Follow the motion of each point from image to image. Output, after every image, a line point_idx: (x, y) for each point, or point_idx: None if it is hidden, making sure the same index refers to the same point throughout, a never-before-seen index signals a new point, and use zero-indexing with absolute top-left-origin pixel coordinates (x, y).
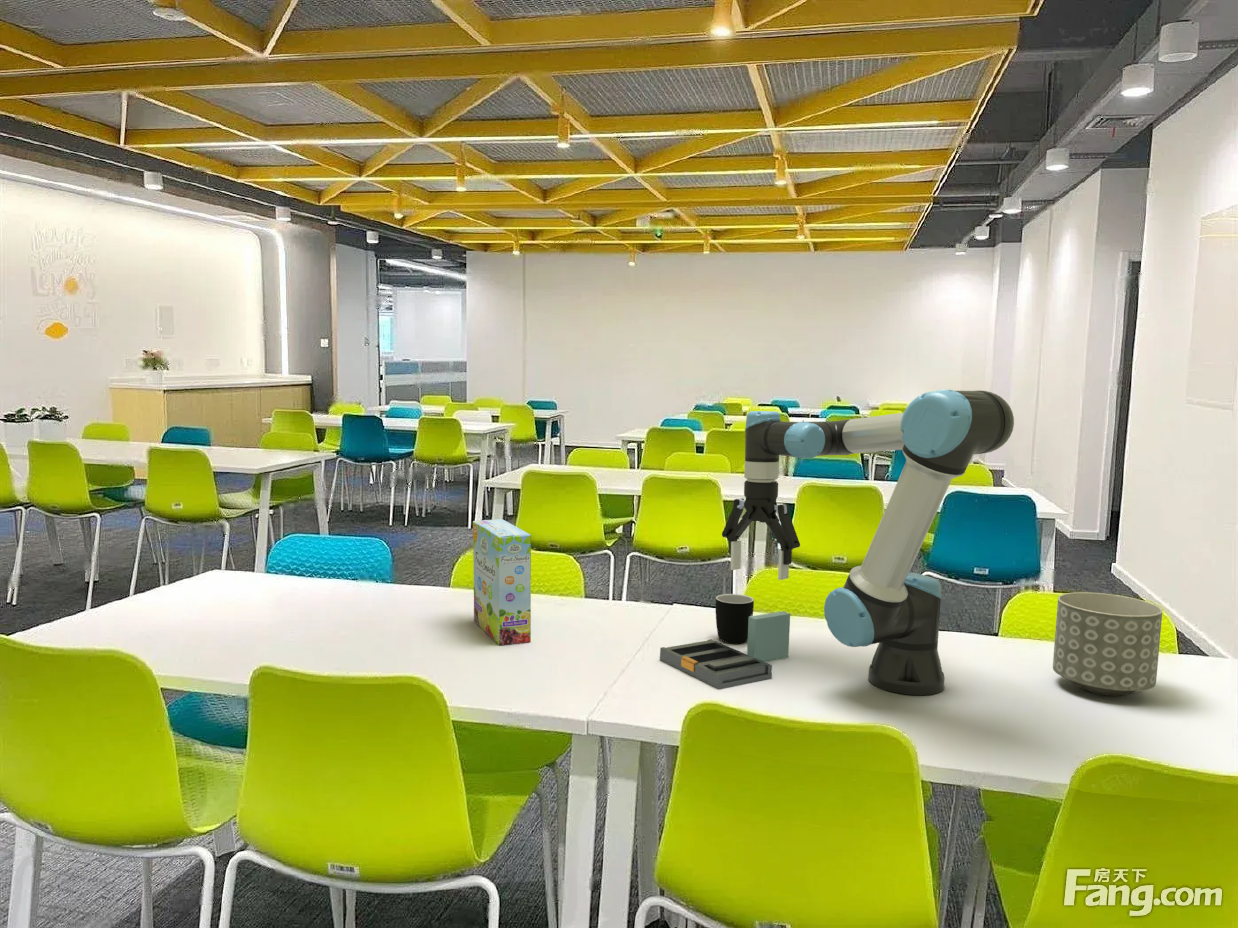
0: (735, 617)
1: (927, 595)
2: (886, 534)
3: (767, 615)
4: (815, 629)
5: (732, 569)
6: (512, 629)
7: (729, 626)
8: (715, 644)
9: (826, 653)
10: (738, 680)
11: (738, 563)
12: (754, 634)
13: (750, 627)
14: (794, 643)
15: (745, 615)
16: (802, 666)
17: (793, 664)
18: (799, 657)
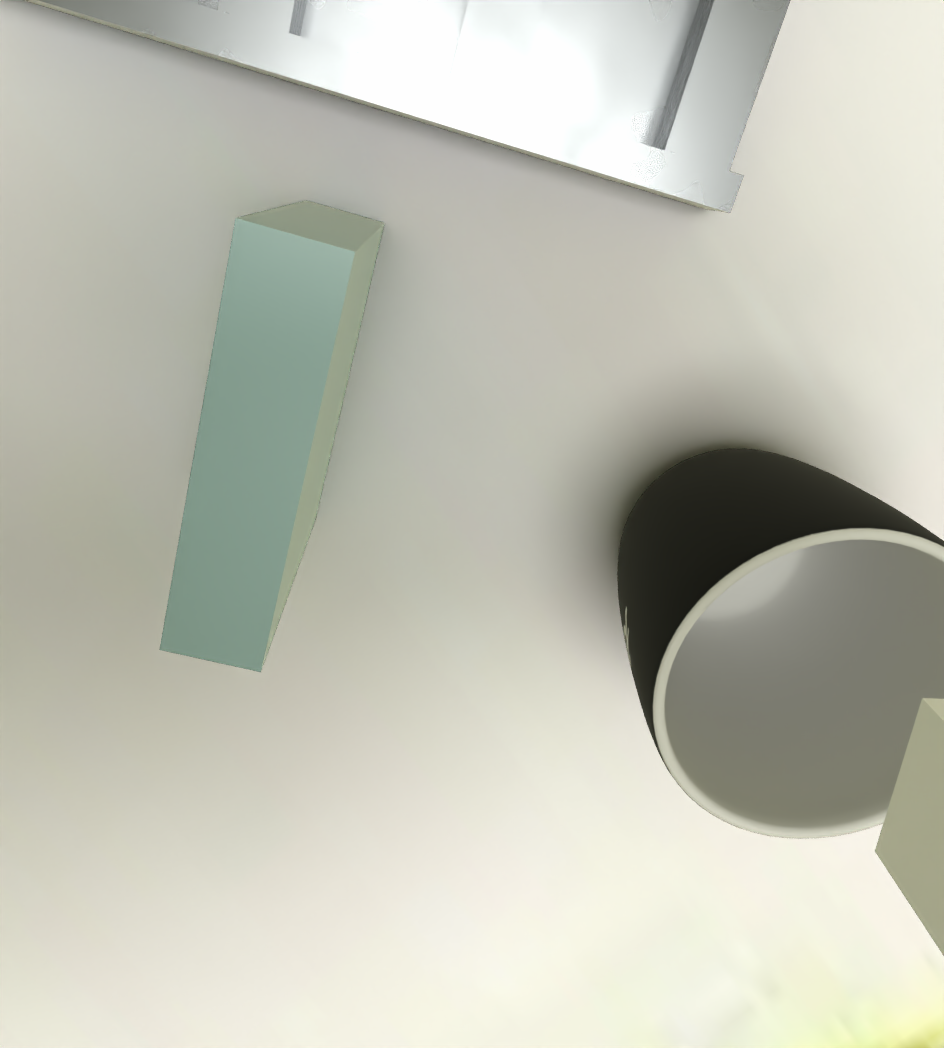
0: (696, 517)
1: None
2: None
3: (257, 443)
4: (465, 1017)
5: (938, 705)
6: None
7: (719, 471)
8: (639, 143)
9: (142, 724)
10: None
11: (934, 871)
12: (275, 211)
13: (330, 232)
14: (392, 748)
15: (642, 593)
16: (55, 404)
17: (120, 396)
18: None
